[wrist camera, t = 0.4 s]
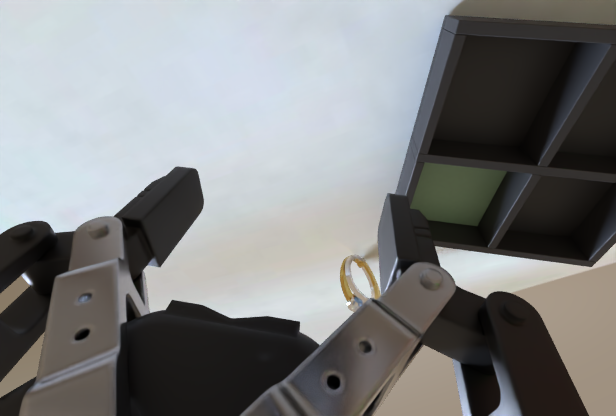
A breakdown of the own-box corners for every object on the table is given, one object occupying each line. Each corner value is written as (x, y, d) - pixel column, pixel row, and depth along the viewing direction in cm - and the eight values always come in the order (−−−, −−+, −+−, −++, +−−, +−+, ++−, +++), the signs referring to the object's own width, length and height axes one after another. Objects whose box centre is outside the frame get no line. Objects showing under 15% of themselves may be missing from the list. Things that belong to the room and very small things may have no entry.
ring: (337, 247, 39) (332, 298, 32) (358, 239, 37) (357, 290, 31) (364, 278, 41) (364, 329, 35) (384, 271, 40) (388, 324, 34)
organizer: (445, 15, 22) (458, 19, 19) (742, 32, 20) (815, 41, 17) (388, 216, 34) (391, 240, 31) (569, 239, 32) (592, 267, 29)
